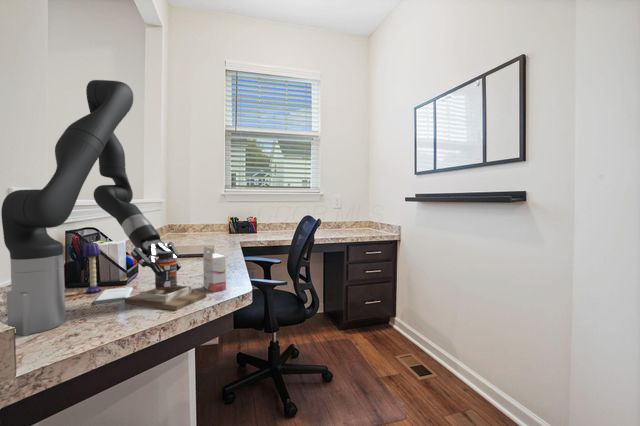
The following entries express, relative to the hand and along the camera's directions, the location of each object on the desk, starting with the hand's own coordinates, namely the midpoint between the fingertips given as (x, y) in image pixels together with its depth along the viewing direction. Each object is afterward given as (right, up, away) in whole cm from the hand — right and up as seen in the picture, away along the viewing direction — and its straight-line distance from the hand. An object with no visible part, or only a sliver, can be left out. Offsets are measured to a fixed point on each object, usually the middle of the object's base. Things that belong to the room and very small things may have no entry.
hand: (170, 271), depth 89 cm
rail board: (-2, -9, +1) cm, 9 cm away
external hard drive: (-20, -10, +4) cm, 23 cm away
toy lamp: (-31, -9, +9) cm, 33 cm away
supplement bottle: (-2, -5, +1) cm, 6 cm away
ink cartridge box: (+9, -9, +13) cm, 18 cm away
